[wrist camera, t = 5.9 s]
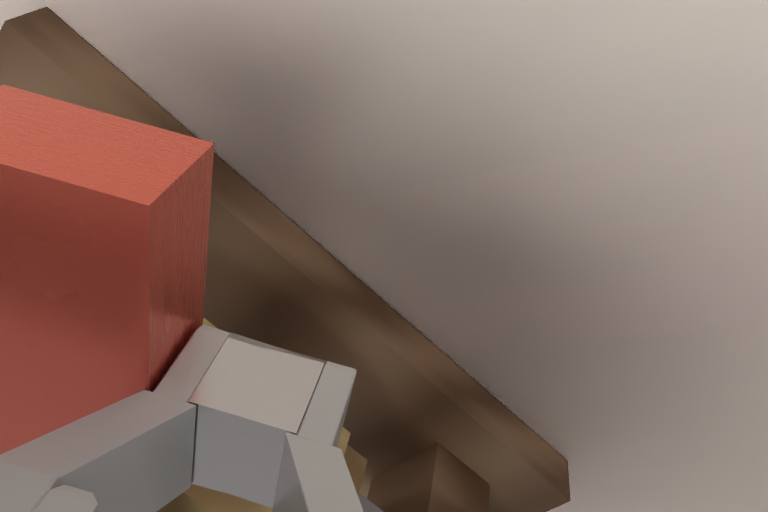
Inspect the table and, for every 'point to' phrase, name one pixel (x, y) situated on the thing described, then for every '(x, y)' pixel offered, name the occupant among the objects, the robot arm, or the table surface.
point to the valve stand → (319, 325)
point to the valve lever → (93, 258)
